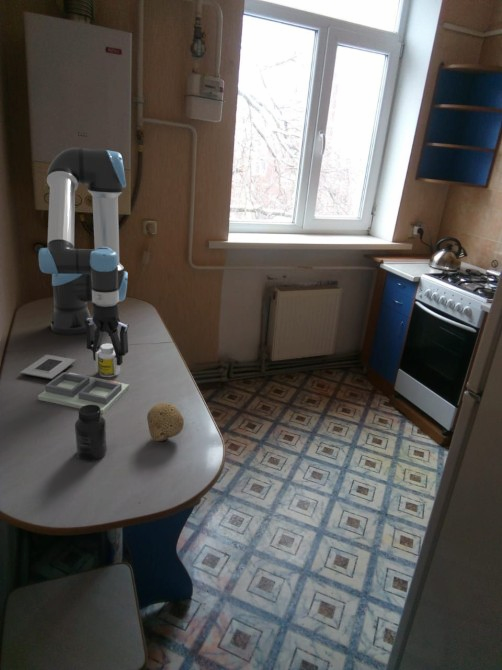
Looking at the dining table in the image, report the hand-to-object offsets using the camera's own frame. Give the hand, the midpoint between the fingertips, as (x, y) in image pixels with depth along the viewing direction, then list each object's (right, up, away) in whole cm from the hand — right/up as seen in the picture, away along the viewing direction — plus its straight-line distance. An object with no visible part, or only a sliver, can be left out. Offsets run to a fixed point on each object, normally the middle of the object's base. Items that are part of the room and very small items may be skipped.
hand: (108, 371), depth 143 cm
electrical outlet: (-18, 0, -1) cm, 18 cm away
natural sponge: (+23, -15, -28) cm, 39 cm away
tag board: (-3, -6, -12) cm, 13 cm away
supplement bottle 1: (+7, -17, -35) cm, 40 cm away
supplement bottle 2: (0, -1, 0) cm, 1 cm away
